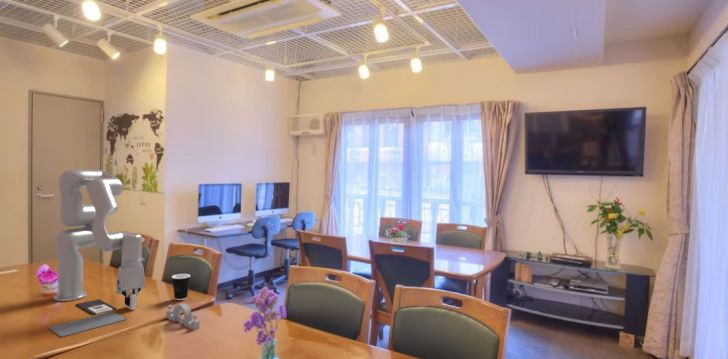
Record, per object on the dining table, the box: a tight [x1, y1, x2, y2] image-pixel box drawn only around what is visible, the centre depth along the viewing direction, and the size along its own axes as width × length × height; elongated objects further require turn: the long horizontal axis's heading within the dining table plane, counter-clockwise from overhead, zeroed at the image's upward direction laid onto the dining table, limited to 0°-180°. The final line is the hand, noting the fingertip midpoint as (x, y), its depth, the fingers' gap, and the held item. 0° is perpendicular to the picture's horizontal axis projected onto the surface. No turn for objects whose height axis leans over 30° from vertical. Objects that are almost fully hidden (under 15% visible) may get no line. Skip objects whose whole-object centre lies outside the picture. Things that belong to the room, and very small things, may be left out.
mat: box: [48, 310, 128, 338], centre depth 158 cm, size 13×22×1 cm, turn 144°
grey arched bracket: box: [165, 302, 200, 331], centre depth 162 cm, size 20×2×8 cm, turn 55°
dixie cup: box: [171, 273, 191, 301], centre depth 189 cm, size 8×8×11 cm
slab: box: [124, 291, 138, 311], centre depth 176 cm, size 7×2×6 cm, turn 54°
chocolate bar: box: [75, 298, 117, 316], centre depth 176 cm, size 9×1×18 cm
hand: (130, 304), depth 176 cm, fingers closed on slab, 1 cm apart
